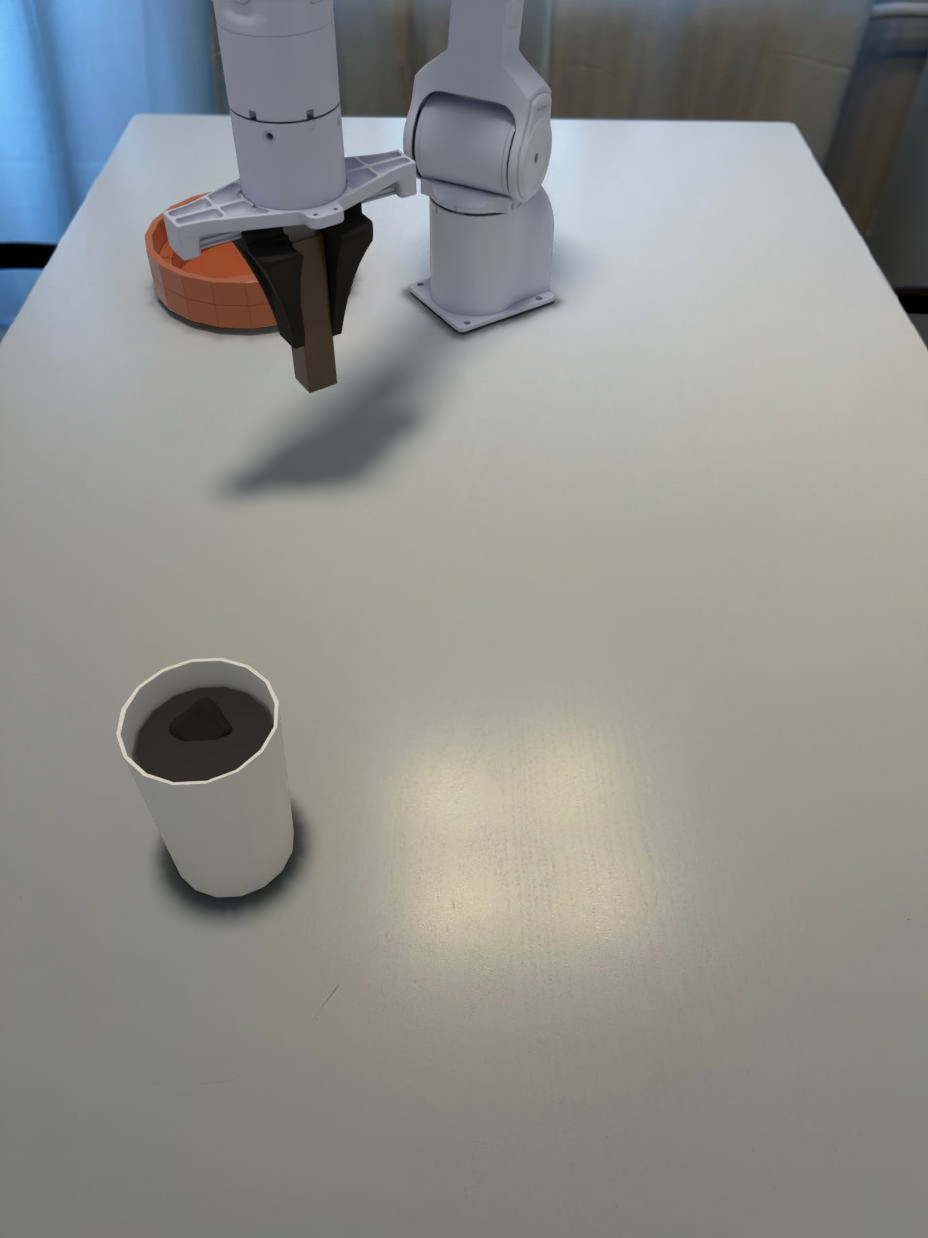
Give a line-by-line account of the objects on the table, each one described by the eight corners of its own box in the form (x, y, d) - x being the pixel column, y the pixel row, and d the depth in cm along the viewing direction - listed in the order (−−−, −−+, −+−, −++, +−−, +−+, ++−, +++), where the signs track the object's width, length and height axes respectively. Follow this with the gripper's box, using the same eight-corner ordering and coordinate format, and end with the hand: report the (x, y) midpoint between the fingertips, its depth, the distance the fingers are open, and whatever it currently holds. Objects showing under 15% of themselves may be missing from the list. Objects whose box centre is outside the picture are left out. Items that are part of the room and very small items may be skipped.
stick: (322, 368, 67) (307, 219, 59) (337, 383, 65) (323, 233, 58) (294, 378, 66) (275, 228, 58) (309, 393, 65) (291, 242, 57)
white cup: (141, 831, 50) (89, 705, 43) (260, 764, 53) (231, 634, 46) (205, 933, 47) (161, 815, 40) (329, 855, 50) (309, 731, 42)
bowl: (298, 219, 94) (292, 170, 91) (388, 298, 85) (385, 246, 82) (127, 266, 88) (115, 215, 84) (205, 357, 79) (194, 303, 75)
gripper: (184, 162, 48) (229, 404, 58) (445, 97, 54) (445, 328, 64) (128, 110, 52) (179, 345, 62) (376, 55, 58) (387, 279, 68)
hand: (310, 333), depth 63 cm, fingers closed on stick, 2 cm apart
